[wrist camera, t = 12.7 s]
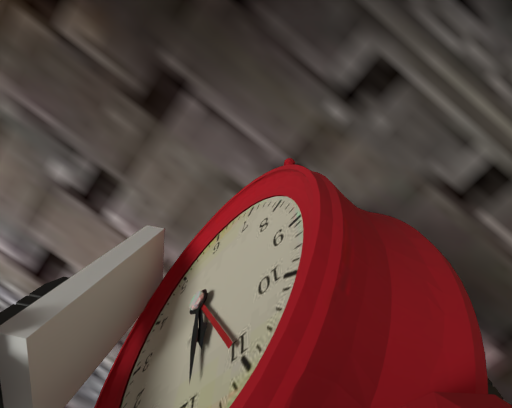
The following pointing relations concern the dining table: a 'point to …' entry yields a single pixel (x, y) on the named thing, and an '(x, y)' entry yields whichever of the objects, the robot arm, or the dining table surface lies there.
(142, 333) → the alarm clock
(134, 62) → the dining table surface
